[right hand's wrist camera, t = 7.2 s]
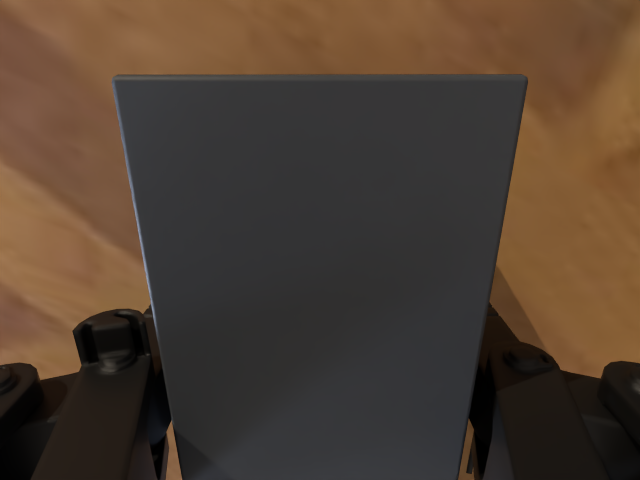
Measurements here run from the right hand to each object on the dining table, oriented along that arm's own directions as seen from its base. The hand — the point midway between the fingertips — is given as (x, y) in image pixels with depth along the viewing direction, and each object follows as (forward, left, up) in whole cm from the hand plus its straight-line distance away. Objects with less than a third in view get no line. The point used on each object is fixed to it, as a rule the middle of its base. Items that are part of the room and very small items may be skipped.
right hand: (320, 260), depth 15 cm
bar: (-10, -18, -1) cm, 20 cm away
